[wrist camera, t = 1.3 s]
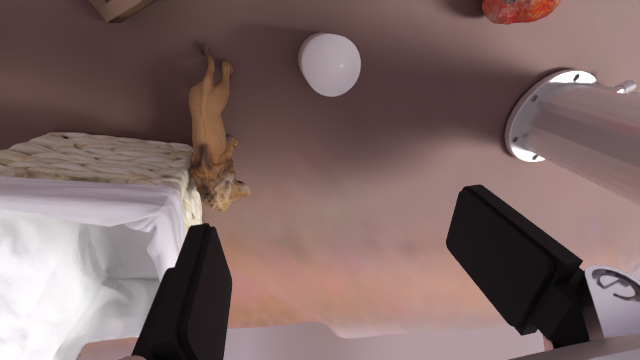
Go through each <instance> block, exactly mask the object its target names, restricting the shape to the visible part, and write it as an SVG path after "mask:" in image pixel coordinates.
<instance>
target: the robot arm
mask: <svg viewBox="0 0 640 360" xmlns="http://www.w3.org/2000/svg"><path fill="white" fill-rule="evenodd" d="M635 87H636V84H635V82H634V81H631V80H627V81H625V82H623V83H621V84H619V85H617V86H615V87H614V88H612V87H607V86H601V85H598V82H597V80H596V79H595V78H594V76H593V75H591V74H590V73H588V72H585V71H581V70H573V69H569V70H562V71H559V72H556V73H553V74H551V75H549V76H547V77H545V78H543V79H542V80H540V81H539V82H538V83H536V84H535V85H534V86H533V87H531V88H530V89H529V90H528V91H527V92H526V93H525V94H524V95H523V97H522V98H521V99H520V100H519V102H518V103H517V104H516V106H515V107H514V109H513V111H512V113H511V115H510V117H509V119H508V122H507V125H506V130H505V144H506V147H507V149H508V151H509V152H510V153H511V154H512V155H513V156H514V157H516V158H518V159H520V160H522V161H526V162H537V161H542V160H545V159H546V160H548V161H550V162H552V163H555V164H557V165H559V166H561V167H563V168H565V169H567V170H569V171H571V172H573V173H575V174H577V175H579V176H581V177H583V178H585V179H587V180H589V181H591V182H593V183H595V184H597V185H599V186H601V187H604V188H606V189H608V190H610V191H612V192H614V193H616V194H618V195H620V196H622V197H624V198H626V199H628V200H630V201H632V202H634V203H636V204H638V205H640V93H638V92H632V93H629V94H626V93H628V92H630V91H632V90H634V89H635ZM446 245H447V248H448V250H449V251H450V252H451V254H452V255H453V256H454V257H455V259H456V260H457V261H458V262H459V263H460V265H461V266H462V267H463V268H464V270H465V271H466V272H467V273H468V275H469V276H470V277H471V278H472V280H473V281H474V282H475V283H476V285H477V286H478V287H479V288H480V290H481V291H482V292H483V293H484V294H485V296H486V297H487V298H488V299H489V301H490V302H491V303H492V304H493V306H494V307H495V308H496V309H497V311H498V312H499V313H500V314H501V316H502V317H503V318H504V319H505V320H506V322H507V323H508V324H509V325H511V326H513V327H515V329H516V330H517V331H518V332H519V333H520V335H526V334H531V333H535V332H536V331H537V329H539V330H540V332H541V333H542V334H543V339H544V347H545V351H544V352H540V353H536V354H531V355H527V356H523V357H518V358H514V359H510V360H640V281H639V280H638V279H636V278H635V277H633V276H631V275H629V274H627V273H625V272H623V271H621V270H618V269H616V268H613V267H609V266H604V265H591V266H588V267H587V268H586V269H585V271H583V270H582V269H580V268H579V266H580V265H581V263H582V262H583V260H581V259H580V258H579V257H577V256H576V255H575V254H573V253H572V252H571V251H569V250H568V249H567V248H565V247H564V246H563V245H561V244H560V243H559V242H557V241H556V240H555V239H553V238H552V237H551V236H549V235H548V234H547V233H545V232H544V231H543V230H541V229H540V228H539V227H537V226H536V225H535V224H533V223H532V222H531V221H529V220H528V219H527V218H525V217H524V216H523V215H521V214H520V213H519V212H517V211H516V210H515V209H513V208H512V207H511V206H509V205H508V204H507V203H505V202H504V201H503V200H501V199H500V198H499V197H497V196H496V195H495V194H493V193H492V192H491V191H489V190H488V189H487V188H485V187H484V186H482V185H472V186H466V187H464V188H463V189H462V191H460V192H459V195H458V199H457V202H456V206H455V210H454V213H453V217H452V221H451V224H450V228H449V232H448V235H447V239H446ZM231 292H232V278H231V274H230V271H229V268H228V265H227V262H226V259H225V256H224V253H223V249H222V246H221V243H220V240H219V237H218V234H217V231H216V228H215V227H214V226H213V227H210V225H209V224H208V223H205V224H198V225H191V226H190V227H189V229H188V232H187V234H186V237H185V240H184V242H183V245H182V248H181V250H180V253H179V256H178V259H177V261H176V264H175V267H172V268H168V269H167V270H166V271H165V273H164V275H163V278H162V280H161V283H160V285H159V288H158V290H157V293H156V295H155V298H154V300H153V303H152V305H151V308H150V310H149V313H148V315H147V318H146V320H145V323H144V325H143V328H142V330H141V333H140V335H139V338H138V340H137V343H136V345H135V348H134V350H133V353H132V355H131V356H127V357H124V358H122V359H119V360H223V357H224V349H225V341H226V332H227V325H228V317H229V308H230V300H231Z"/></svg>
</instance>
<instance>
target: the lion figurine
mask: <svg viewBox="0 0 640 360" xmlns="http://www.w3.org/2000/svg"><path fill="white" fill-rule="evenodd" d="M199 47H200V49H201V52H202V55H203V56H204V57H205V58H206V59H207V61H208V69H207V72H206V75H205V78H204V80H203V82H202V81H200V82H199V83H198V84H197V85H196V86H193V87H192V88H191V90H190V93H189V106H190V112H191V115H192V142H193V148H194V152H195V155H194V161H193V163H192V164H191V172H192V173H191V176H192V177H193V178H194V181H195V186H196V191H197V192H198V193H199V195H200V197H201V198H202V200H203V202H204V203H205V205H207V206H210V207H211V208H213V209H214V210H219V211H222V212H223V213H225V210H226V209H227V207H228V206H229V204H230V203H233V202H235V201H236V200H237V199H238V198H240V197H247V196H249V194H250V190H249V187H248V185H247V184H245V183H243V182H241V181H236V180H235V178H236V173H235V172H234V165H233V160H232V154H233V148H234V147H236V146H237V144H238V141H237V140H236V139H235V138H234V137H229V136H228V137H227V138H226V134H225V130H224V123H223V120H222V117H221V112H222V110H223V109H224V108H225V106H226V104H227V102H228V97H229V94H230V83H229V75H230V74H231V73H232V72H233V67H232V65H231V64H230V63H229V62H226V61H223V62H222V63H221V69H220V71H221V79H220V82H219V83H217V84H215V85H213V74H214V68H215V64H214V61H213V59H212V57H211V56H210V54H209V49H208V48H207V47H206V45H205V44H204V43H202V42H200V43H199Z"/></svg>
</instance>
